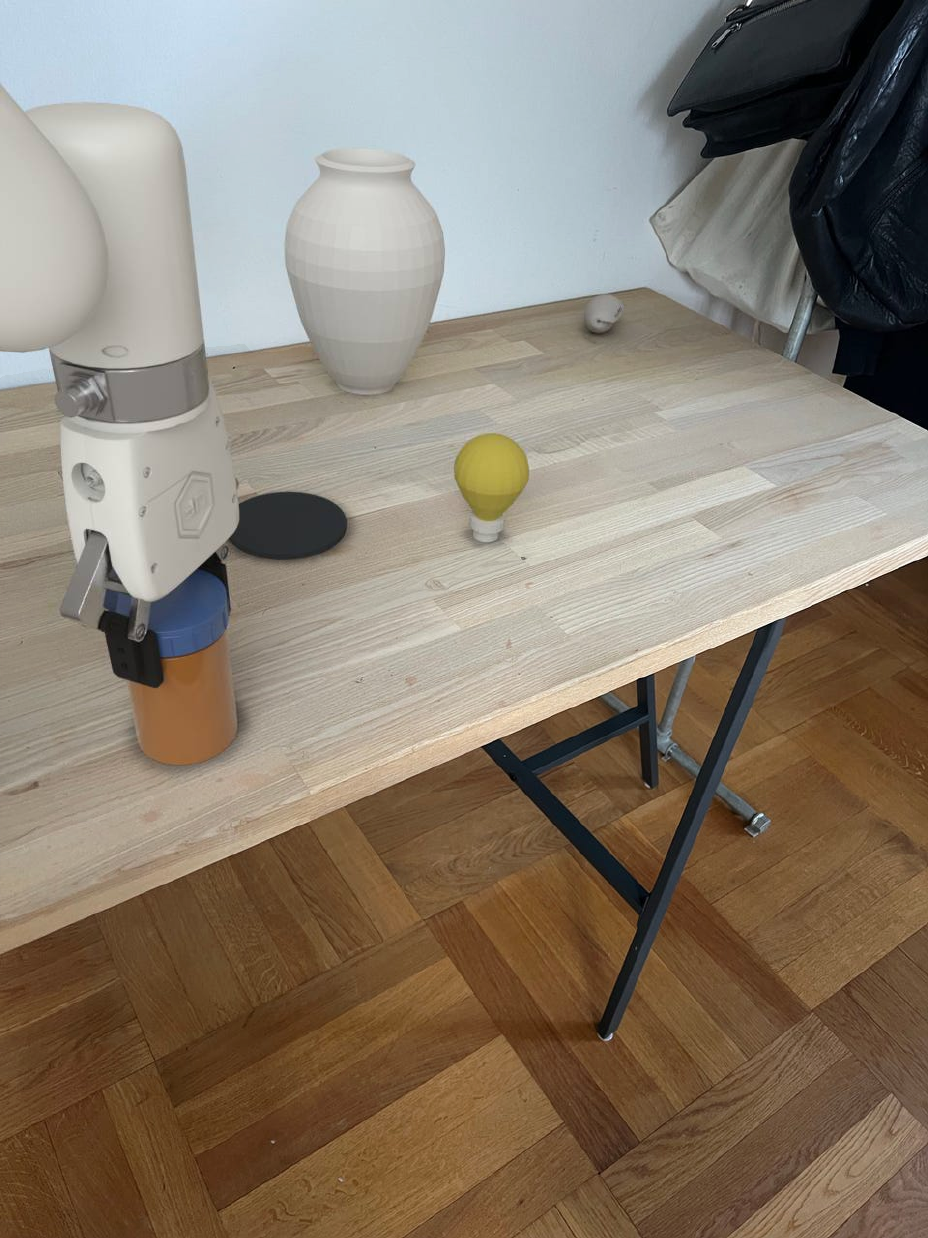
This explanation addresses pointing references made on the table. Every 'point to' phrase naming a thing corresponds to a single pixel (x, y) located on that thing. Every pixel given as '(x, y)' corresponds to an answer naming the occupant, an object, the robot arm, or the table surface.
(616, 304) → the stone
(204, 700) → the jar
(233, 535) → the coaster
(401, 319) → the vase
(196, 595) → the lid
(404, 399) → the table surface
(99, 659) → the table surface
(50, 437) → the table surface
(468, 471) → the light bulb
